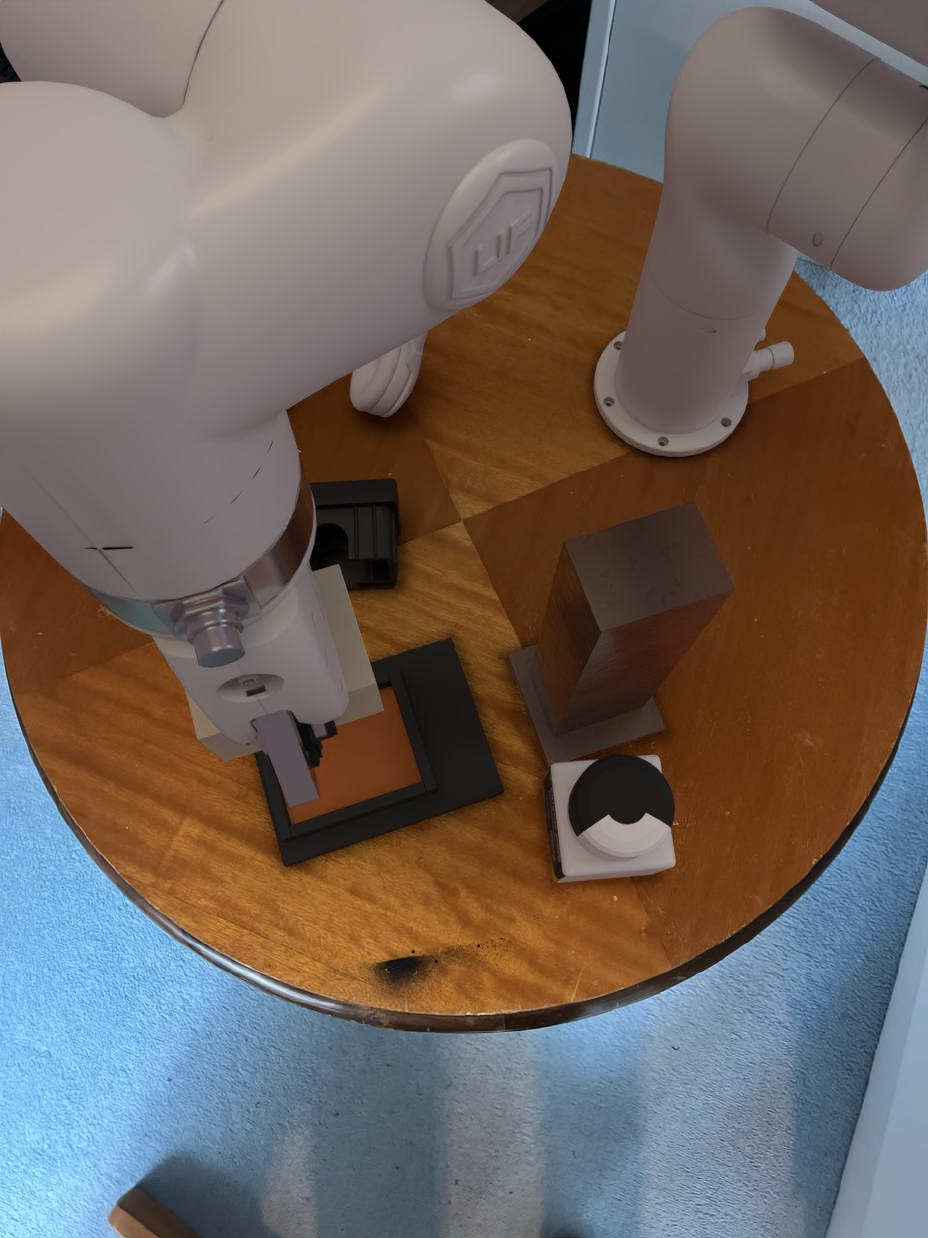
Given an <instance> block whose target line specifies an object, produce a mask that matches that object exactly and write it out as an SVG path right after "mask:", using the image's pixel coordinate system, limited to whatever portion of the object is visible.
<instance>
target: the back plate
mask: <svg viewBox="0 0 928 1238" xmlns="http://www.w3.org/2000/svg"><path fill="white" fill-rule="evenodd" d="M458 655H459V654H458V652H457V650H456V647H455V644H454V642H453V638H452V637H451V636H450V637H447V638H444V639H440V640H437V641H434V642H431V643H428V644H424V645H422V646H418V647H415V648H412V649H409V650H405V651H403V652H400V653H397V654H393V655H391V656H387V657H383V658H380V659H378V660H374V661H372V662H371V661H370V664H371V668H372V671H373V674H374V677H375V680H376V684H377V687H378V690H379V694H380V697H381V701H382V704H383V708H384V711H382V712H379V713H376V714H373V715H370V716H366V717H363V718H360V719H357V720H354V721H351V722H348V723H345V724H342V725H338V726H336V728H337V731H338V734H337V735H336V736H334V737H331V738H328V739H325V740H322V741H321V743H322V747H323V749H322V750H321V752H322V756H323V757H322V758H320V766H318V767H315V768H314V770H315V773H316V775H317V781H318V787H319V793H320V798H319V799H316V800H313V801H310V802H307V803H304V804H301V805H298V806H295V807H292V808H289V806H288V803H287V801H286V798H285V796H284V793H283V791H282V788H281V785H280V783H279V780H278V778H277V775H276V773H274V772H273V770H272V767H271V764H270V757H269V754H268V755H265V754H264V752H263V750H261V751H258V752H254V753H253V755H254V759H255V763H256V766H257V771H258V774H259V778H260V781H261V785H262V790H263V793H264V796H265V800H266V804H267V808H268V811H269V815H270V819H271V823H272V827H273V830H274V834H275V838H276V842H277V846H278V849H279V853H280V854H279V855H280V857H281V861H282V865H283V866H284V867H286V868H289V867H292V866H295V865H298V864H301V863H304V862H307V861H310V860H312V859H313V860H314V859H315V858H318V857H322V856H325V855H327V854H331V853H333V852H336V851H339V850H343V849H345V848H348V847H351V846H354V845H356V844H359V843H363V842H366V841H370V840H372V839H375V838H378V837H381V836H383V835H384V836H385V835H386V834H389V833H392V832H396V831H398V830H401V829H405V828H407V827H410V826H413V825H416V824H420V823H422V822H424V821H428V820H431V819H434V818H437V817H440V816H443V815H446V814H449V813H452V812H455V811H457V810H460V809H463V808H466V807H469V806H472V805H475V804H478V803H481V802H484V801H487V800H489V799H492V798H495V797H498V796H502V795H504V794H505V788H504V785H503V782H502V779H501V776H500V773H499V770H498V767H497V764H496V762H495V758H494V755H493V753H492V750H491V747H490V745H489V742H488V739H487V736H486V733H485V730H484V727H483V725H482V720H481V719H480V716H479V713H478V710H477V708H476V704H475V702H474V699H473V696H472V693H471V690H470V687H469V685H468V680H467V678H466V676H465V672H464V670H463V667H462V665H461V661H460V659H459V656H458Z"/></svg>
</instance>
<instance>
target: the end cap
mask: <svg viewBox="0 0 928 1238" xmlns="http://www.w3.org/2000/svg"><path fill="white" fill-rule="evenodd" d="M308 483H309V486H310V489H311V492H312V495H313V499H314V503H315V510H316V523H317V524H316V535H315V542H314V546H313V549H312V553H311V556H310V559H309V563H310V566H311V570H312V572H314V571H317V570H320V569H324V568H327V567H330V566H334V565H337V564H339V566H340V569H341V572H342V576H343V579H344V582H345V585H346V588H347V591H363V590H378V589H381V590H382V589H392V588H394V587H396V585H397V583H398V574H399V553H398V552H399V551H398V549H399V548H398V538H399V537H401V536H402V525H401V512H400V511H401V509H400V497H399V488H398V482H397V480H396V478H393V477H390V478H388V477H387V478H371V479H354V480H353V479H352V480H335V481H334V480H333V481H315V482H308Z"/></svg>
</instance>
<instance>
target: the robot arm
mask: <svg viewBox="0 0 928 1238" xmlns="http://www.w3.org/2000/svg"><path fill="white" fill-rule="evenodd" d="M809 1H810V2H811V3H812V4H814V5H816V6H817V7H819V8H821V9H822V10H824V11H825V12H827V13H829V14H831V15H832V16H834V17H836V18H837V19H839V20H840V21H842V22H844V23H846V24H848V25H850V26H852V27H853V28H855V29H856V30H859V31H861V32H862V33H865V34H866V35H868V36H869V37H871V38H874V39H875V40H877V41H879V42H881V43H883V44H885V45H886V46H888V47H890V48H892V49H893V50H895V51H897V52H899V53H900V54H902V55H904V56H906V57H908V58H910V59H911V60H912V61H914V62H916V63H918V64H920V65H922V66H923V67H926V68H928V0H809ZM0 44H1V47H2V51H3V53H4V55H5V57H6V58H7V60H8V61H9V64H10V65H11V67H12V68H13V70H14V71H15V73H16V75H17V76H18V78H19V79H20V81H10V82H9V81H7V82H2V83H0V506H1V507H2V508H3V509H4V510H5V511H6V512H7V513H8V515H9V516H10V517H11V518H13V519H14V520H15V521H16V522H17V523H18V524H19V525H20V526H21V528H23V529H24V530H25V531H26V532H27V533H28V534H29V535H30V536H31V537H32V538H33V539H34V540H35V541H36V542H37V543H38V544H39V545H40V546H41V547H42V548H43V549H44V550H45V551H46V553H48V554H49V555H50V556H51V558H53V559H54V560H55V561H56V562H57V563H58V564H59V565H60V566H61V567H62V568H63V569H65V570H66V571H67V572H68V573H69V574H70V576H71V577H73V578H74V579H75V580H76V581H77V582H78V584H79V585H80V586H82V587H83V588H84V589H85V590H86V592H88V593H89V594H90V595H91V596H92V597H93V599H95V600H96V601H97V603H99V604H100V605H101V606H102V607H103V608H104V609H105V610H106V611H107V612H108V613H109V614H110V615H112V616H113V617H114V618H115V619H117V620H118V621H120V622H122V623H123V624H124V625H126V626H128V627H129V628H132V629H133V630H136V631H139V632H141V633H143V634H146V635H149V636H151V638H152V639H153V641H154V643H155V644H156V645H155V646H157V648H158V649H159V651H160V653H161V654H162V656H163V658H164V659H165V660H166V662H167V664H168V667H169V668H170V669H171V670H172V671H173V673H174V674H175V676H176V678H177V679H178V680H179V682H180V684H181V685H182V686H183V688H184V690H185V689H186V691H187V692H188V693H189V695H190V696H191V698H192V699H193V700H194V702H195V703H196V704H197V706H198V707H199V708H200V709H201V711H202V712H203V713H204V714H205V715H206V717H207V718H208V719H209V720H210V721H211V722H212V723H213V725H214V726H215V727H216V728H217V729H218V730H219V731H220V732H221V733H223V734H224V735H225V736H226V737H228V738H229V739H231V740H232V741H234V742H236V743H239V744H241V745H245V746H249V745H250V743H251V742H253V741H254V740H255V738H257V740H258V742H259V744H260V746H261V748H262V750H263V752H264V754H265V755H268V754H269V757H270V764H271V767H272V770H273V772H274V773H276V775H277V778H278V780H279V783H280V785H281V788H282V791H283V793H284V796H285V798H286V801H287V803H288V806H289V808H292V807H295V806H298V805H301V804H304V803H307V802H310V801H313V800H316V799H319V798H320V793H319V787H318V781H317V775H316V773H315V770H314V768H315V767H318V766H320V758H322V757H323V756H322V752H321V750H322V749H323V747H322V743H321V741H322V740H325V739H328V738H331V737H334V736H336V735H337V734H338V731H337V728H336V724H335V722H334V719H336V718H338V717H341V716H342V715H343V714H344V713H345V710H346V708H347V706H348V702H349V698H348V692H347V688H346V684H345V680H344V676H343V673H342V669H341V666H340V662H339V659H338V656H337V652H336V649H335V645H334V642H333V639H332V635H331V632H330V629H329V625H328V622H327V619H326V615H325V612H324V609H323V605H322V602H321V599H320V596H319V592H318V589H317V586H316V583H315V579H314V576H313V573H312V570H311V566H310V563H309V559H310V556H311V553H312V549H313V546H314V542H315V535H316V524H317V523H316V510H315V503H314V499H313V495H312V492H311V489H310V486H309V483H310V482H309V480H308V477H307V473H306V471H305V467H304V464H303V460H302V457H301V454H300V451H299V448H298V444H297V442H296V439H295V435H294V432H293V429H292V425H291V421H290V419H289V415H288V413H287V410H288V409H290V408H293V406H295V405H297V404H299V403H300V402H302V401H304V400H306V399H307V398H309V397H311V396H312V395H314V394H315V393H317V392H319V391H320V390H322V389H324V388H326V387H327V386H329V385H331V384H332V383H334V382H336V381H338V380H339V379H341V378H343V377H345V376H347V375H349V374H352V373H353V371H354V370H356V369H358V368H360V367H362V366H364V365H366V364H368V363H370V362H371V361H373V360H375V359H377V358H379V357H381V356H383V355H385V354H386V353H388V352H390V351H392V350H394V349H396V348H397V347H399V346H401V345H403V344H405V343H407V342H408V341H410V340H412V339H414V338H416V337H418V336H419V335H421V334H423V333H425V332H426V331H428V330H429V331H430V330H431V329H433V328H435V327H437V326H438V325H439V324H442V323H443V322H445V321H447V320H448V319H449V318H451V317H452V316H454V315H456V314H457V313H458V312H460V311H461V310H465V309H468V308H470V307H473V306H475V305H476V304H478V303H480V302H482V301H484V300H485V299H487V298H488V297H489V296H491V295H493V294H494V293H495V292H496V291H498V290H499V289H500V288H501V287H502V286H503V285H504V284H505V283H507V282H508V281H509V279H510V278H511V277H512V276H513V275H514V274H515V273H516V272H517V271H518V270H519V268H520V267H521V266H522V265H523V264H524V262H525V261H526V259H527V258H528V257H529V255H530V254H531V252H533V249H534V248H535V246H536V245H537V243H538V241H539V240H540V238H541V237H542V235H543V232H544V230H545V228H546V226H547V224H548V222H549V220H550V218H551V214H552V212H553V210H554V208H555V206H556V204H557V201H558V199H559V197H560V194H561V191H562V189H563V186H564V183H565V181H566V177H567V172H568V168H569V162H570V156H571V151H572V142H573V141H572V140H573V129H572V117H571V109H570V105H569V101H568V98H567V94H566V91H565V87H564V84H563V83H562V81H561V79H560V77H559V75H558V73H557V71H556V69H555V67H554V65H553V63H552V62H551V60H550V59H549V58H548V56H547V55H546V54H545V52H544V51H543V50H542V49H541V47H540V46H539V45H538V43H537V42H536V41H535V40H534V39H533V38H532V37H531V36H530V35H529V34H527V32H525V30H523V29H522V28H521V26H519V25H518V24H517V23H516V22H515V21H513V20H512V19H511V18H509V17H508V16H506V15H505V14H504V13H502V12H501V11H500V10H499V9H497V8H495V7H494V6H493V5H491V3H488V1H486V0H0ZM663 142H664V143H663V144H664V145H663V146H664V147H663V148H664V149H663V150H664V151H663V157H664V158H663V181H662V188H661V193H660V200H659V205H658V209H657V213H656V218H655V223H654V226H653V230H652V233H651V237H650V241H649V245H648V248H647V252H646V254H645V259H644V262H643V266H642V270H641V274H640V278H639V281H638V285H637V289H636V292H635V295H634V299H633V302H632V307H631V311H630V314H629V318H628V322H627V325H626V329H625V330H623V331H622V332H620V333H619V334H617V335H616V336H615V337H614V338H613V339H612V340H611V341H610V342H609V343H608V344H607V346H606V347H605V348H604V350H603V351H602V352H601V355H600V357H599V359H598V361H597V364H596V368H595V372H594V375H593V386H592V387H593V396H594V402H595V404H596V407H597V410H598V413H599V415H600V416H601V418H602V420H603V422H604V423H605V424H606V426H607V427H608V428H609V429H610V430H611V431H612V432H613V433H614V435H616V436H617V437H618V438H620V439H621V440H623V441H624V442H625V443H626V444H628V445H629V446H632V447H634V448H636V449H637V450H640V451H642V452H646V453H648V454H652V455H655V456H660V457H667V458H680V457H683V458H684V457H689V456H694V455H699V454H703V453H705V452H706V451H710V450H712V449H714V448H716V447H717V446H718V445H720V444H721V443H723V442H724V441H725V440H727V438H728V437H729V436H730V435H731V434H732V433H733V432H734V431H735V429H736V428H737V426H738V425H739V423H740V422H741V420H742V418H743V416H744V413H745V411H746V408H747V405H748V401H749V383H748V382H750V381H752V380H756V379H757V378H758V377H759V375H760V373H763V372H766V371H773V370H776V369H779V368H782V367H786V366H789V365H792V364H793V362H794V360H795V351H794V348H793V345H792V344H791V343H790V342H789V341H787V340H784V341H781V342H777V343H774V344H771V345H767V346H765V347H764V348H760V349H758V350H755V348H756V346H757V345H758V343H759V342H764V340H766V335H767V334H766V329H765V328H766V325H767V324H768V322H769V320H770V318H771V316H772V313H774V310H775V308H776V306H777V304H778V302H779V300H780V298H781V296H782V293H783V292H784V290H785V288H786V286H787V284H788V283H789V280H790V278H791V276H792V273H793V272H794V269H795V267H796V266H795V265H796V263H797V258H798V255H799V252H800V253H801V254H803V255H804V256H806V257H808V258H810V259H811V260H813V261H814V262H816V263H818V264H819V265H821V266H822V267H824V268H826V269H827V270H829V271H831V272H832V273H834V274H836V275H838V276H839V277H840V278H843V279H844V280H846V281H848V282H850V283H852V284H854V285H856V286H859V287H861V288H862V289H866V290H869V291H872V292H873V291H875V292H891V291H895V290H899V289H902V288H904V287H905V286H907V285H910V284H911V283H912V282H914V281H915V280H917V279H918V278H919V277H921V275H923V274H924V273H925V272H926V271H927V270H928V85H926V84H925V83H922V81H919V80H917V79H916V78H915V77H912V76H911V75H908V74H907V73H905V72H904V71H901V70H900V69H898V68H896V67H895V66H893V65H890V64H889V63H887V62H885V61H883V60H882V59H881V57H879V56H877V55H876V54H874V53H872V52H870V51H868V50H867V49H865V48H863V47H861V46H859V45H858V44H855V43H854V42H852V41H851V40H848V39H847V38H844V37H843V36H841V35H840V34H837V33H835V32H834V31H832V30H830V29H828V28H826V27H825V26H823V25H821V24H819V23H817V22H816V21H813V20H810V19H808V18H806V17H804V16H802V15H799V14H797V13H794V12H791V11H788V10H785V9H781V8H776V7H771V6H763V5H762V6H761V5H760V6H748V7H747V6H746V7H743V8H739V9H736V10H733V11H731V12H729V13H727V14H725V15H723V16H722V17H720V18H719V19H717V20H716V21H715V22H713V23H712V24H711V25H709V27H707V29H706V30H704V32H703V33H702V34H701V35H700V36H699V37H698V39H697V40H696V41H695V43H694V44H693V45H692V47H691V48H690V50H689V51H688V53H687V55H686V56H685V59H684V61H683V63H682V65H681V67H680V69H679V71H678V73H677V76H676V79H675V81H674V85H673V87H672V91H671V95H670V99H669V103H668V107H667V112H666V119H665V129H664V141H663ZM429 331H428V332H429ZM186 691H185V692H186Z"/></svg>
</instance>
